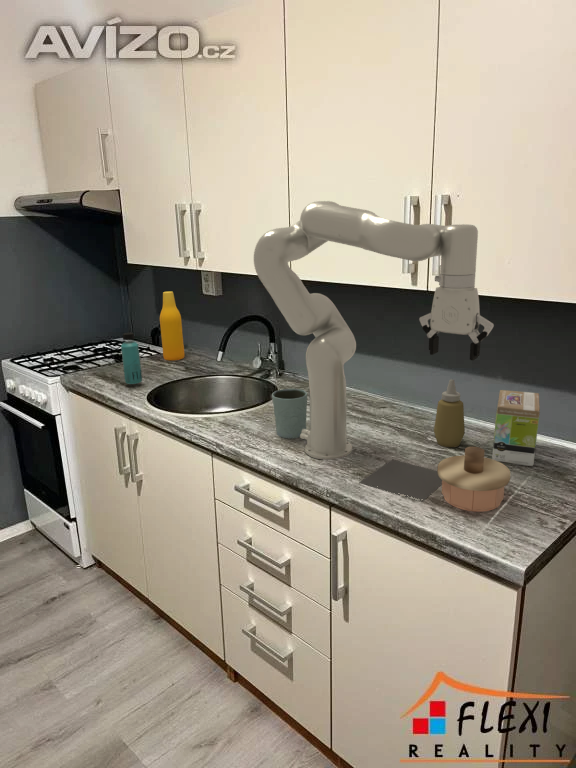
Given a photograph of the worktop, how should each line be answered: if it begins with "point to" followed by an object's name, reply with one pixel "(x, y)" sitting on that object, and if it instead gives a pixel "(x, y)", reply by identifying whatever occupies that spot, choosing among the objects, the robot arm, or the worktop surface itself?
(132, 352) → the beverage bottle
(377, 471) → the mat
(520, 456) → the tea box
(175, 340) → the beer bottle
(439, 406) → the squeeze bottle
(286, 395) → the blue-green cup
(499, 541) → the worktop surface
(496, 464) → the lid
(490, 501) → the bowl
